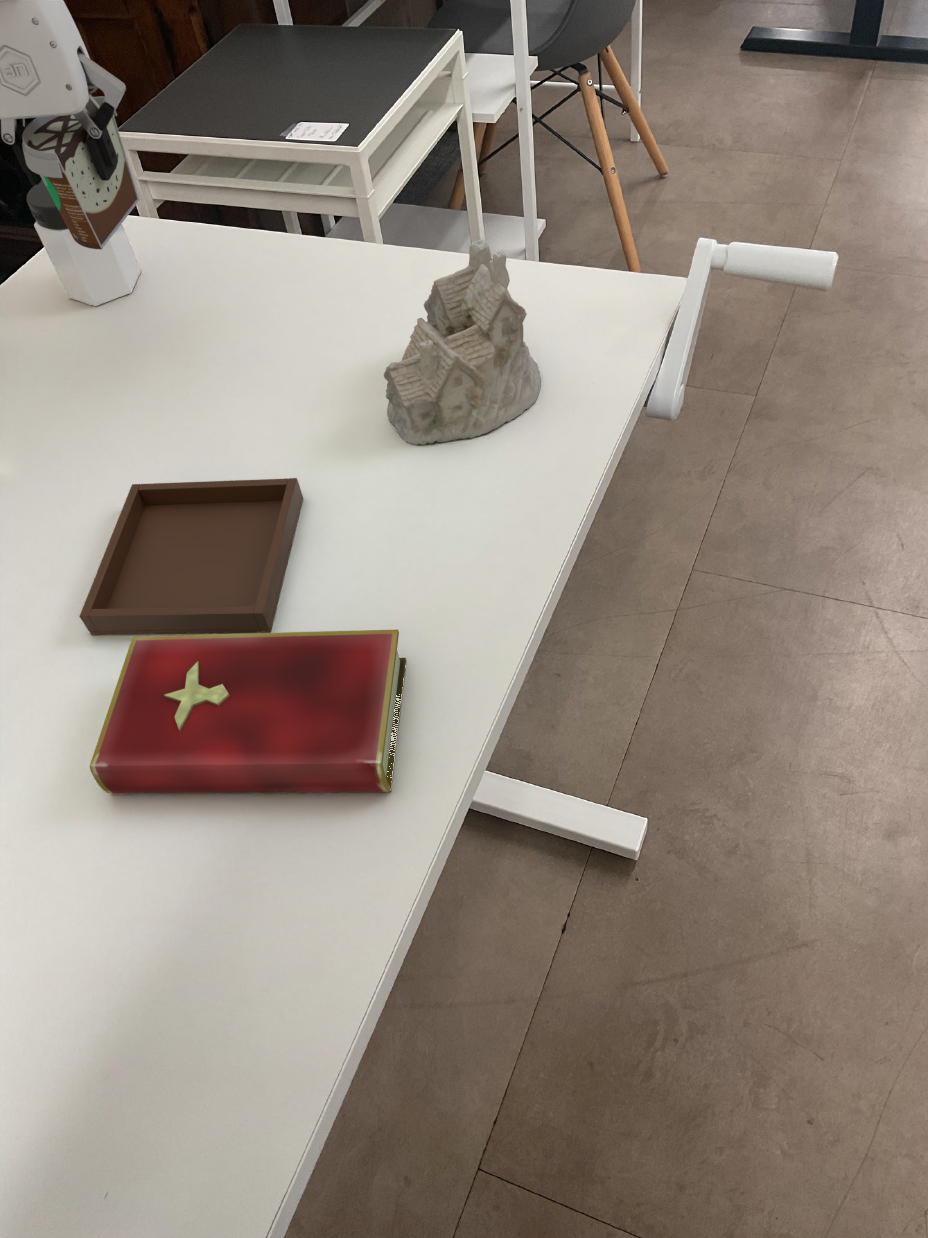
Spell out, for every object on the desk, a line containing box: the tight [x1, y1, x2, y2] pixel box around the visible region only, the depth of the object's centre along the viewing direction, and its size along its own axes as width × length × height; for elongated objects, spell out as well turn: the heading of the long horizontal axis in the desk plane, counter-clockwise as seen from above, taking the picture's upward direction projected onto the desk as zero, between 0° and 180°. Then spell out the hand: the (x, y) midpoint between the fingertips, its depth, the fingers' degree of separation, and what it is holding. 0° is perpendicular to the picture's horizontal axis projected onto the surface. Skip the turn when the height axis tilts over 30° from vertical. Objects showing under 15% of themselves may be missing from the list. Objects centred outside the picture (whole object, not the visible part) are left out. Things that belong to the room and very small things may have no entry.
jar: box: [26, 180, 142, 307], centre depth 115 cm, size 9×8×12 cm
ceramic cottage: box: [383, 238, 542, 446], centre depth 94 cm, size 16×16×15 cm
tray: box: [79, 477, 304, 636], centre depth 87 cm, size 16×16×2 cm
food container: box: [22, 95, 140, 250], centre depth 98 cm, size 12×6×10 cm, turn 168°
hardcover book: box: [89, 628, 407, 794], centre depth 75 cm, size 12×21×4 cm, turn 86°
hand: (74, 174), depth 98 cm, fingers closed on food container, 6 cm apart
